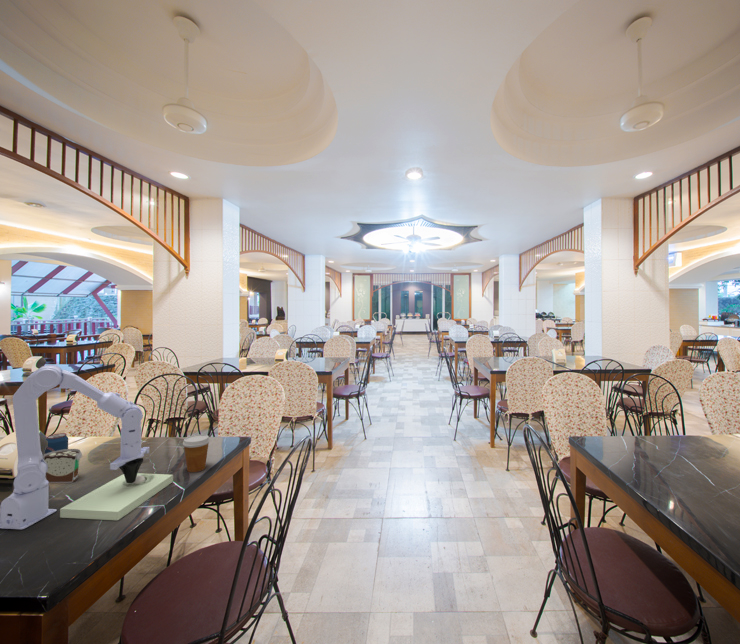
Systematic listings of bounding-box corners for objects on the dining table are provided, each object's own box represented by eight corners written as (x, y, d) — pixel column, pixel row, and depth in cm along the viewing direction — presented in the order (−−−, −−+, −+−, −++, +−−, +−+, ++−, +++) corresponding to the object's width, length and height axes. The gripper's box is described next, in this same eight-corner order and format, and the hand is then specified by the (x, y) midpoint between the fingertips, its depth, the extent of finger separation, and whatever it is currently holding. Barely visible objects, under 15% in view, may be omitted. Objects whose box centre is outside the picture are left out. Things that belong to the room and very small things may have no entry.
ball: (140, 491, 117) (130, 490, 114) (136, 482, 119) (126, 481, 116) (149, 481, 118) (140, 481, 114) (145, 473, 120) (136, 472, 116)
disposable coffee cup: (179, 475, 126) (179, 443, 126) (186, 465, 135) (186, 435, 135) (207, 472, 129) (207, 441, 129) (211, 462, 138) (212, 433, 138)
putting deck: (117, 520, 97) (117, 511, 97) (60, 517, 98) (60, 508, 99) (172, 481, 121) (172, 474, 121) (125, 479, 122) (125, 472, 122)
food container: (90, 474, 126) (91, 448, 126) (77, 482, 120) (77, 454, 120) (57, 475, 126) (57, 448, 126) (41, 482, 120) (41, 454, 120)
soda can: (39, 468, 132) (39, 437, 132) (59, 461, 138) (59, 432, 139) (52, 470, 130) (53, 439, 130) (72, 463, 137) (72, 433, 137)
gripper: (125, 450, 106) (124, 493, 106) (157, 434, 120) (157, 473, 120) (103, 449, 106) (103, 492, 106) (138, 434, 121) (138, 472, 121)
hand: (130, 482), depth 113 cm, fingers closed
